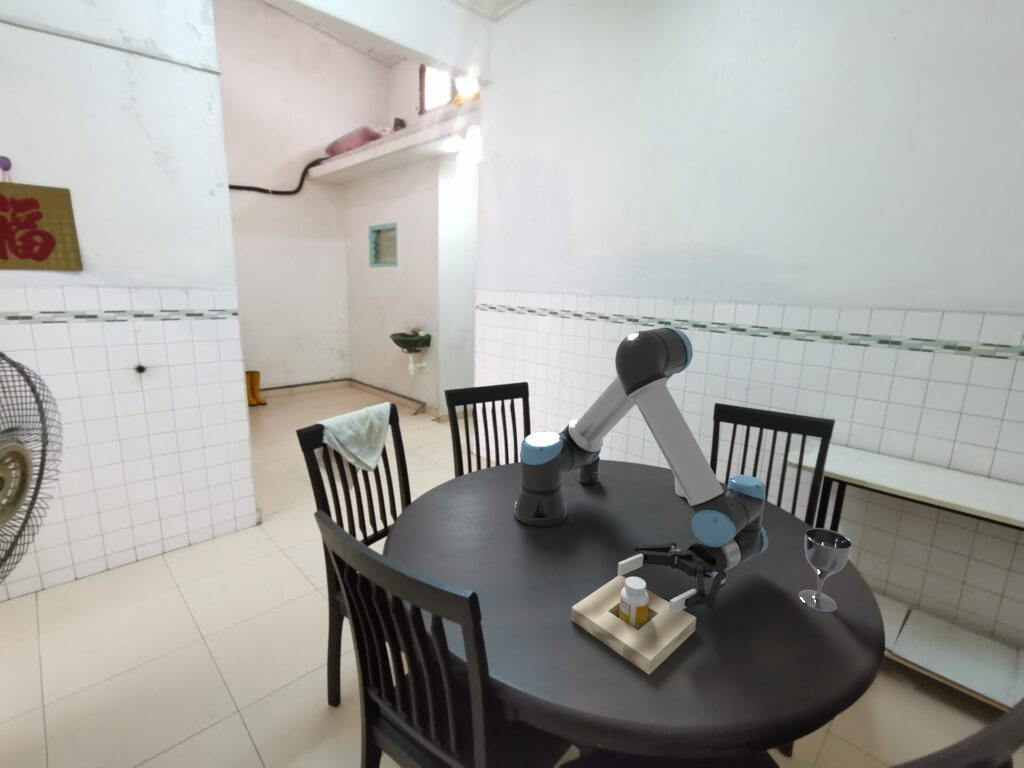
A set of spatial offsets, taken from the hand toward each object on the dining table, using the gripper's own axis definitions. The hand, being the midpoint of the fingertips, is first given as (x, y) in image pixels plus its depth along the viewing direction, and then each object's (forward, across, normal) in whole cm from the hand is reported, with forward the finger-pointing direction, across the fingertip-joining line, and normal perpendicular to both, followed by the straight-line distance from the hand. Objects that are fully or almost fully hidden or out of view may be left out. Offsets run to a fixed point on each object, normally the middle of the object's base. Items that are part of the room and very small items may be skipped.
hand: (643, 587), depth 94 cm
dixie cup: (-55, +34, -8) cm, 65 cm away
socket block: (+2, 0, -8) cm, 8 cm away
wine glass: (-37, -15, -8) cm, 41 cm away
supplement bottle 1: (-34, +57, -8) cm, 67 cm away
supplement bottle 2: (+2, 0, -8) cm, 9 cm away
